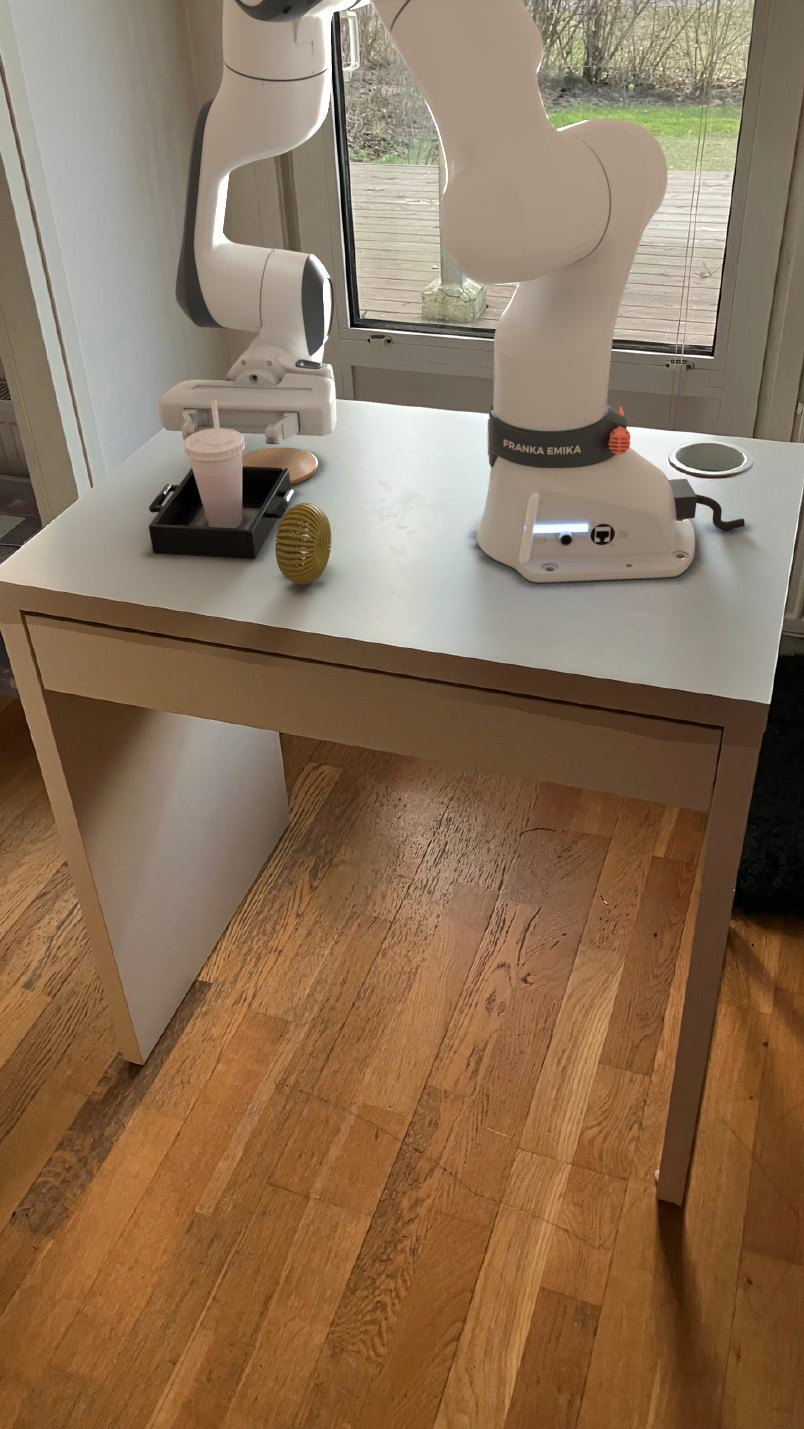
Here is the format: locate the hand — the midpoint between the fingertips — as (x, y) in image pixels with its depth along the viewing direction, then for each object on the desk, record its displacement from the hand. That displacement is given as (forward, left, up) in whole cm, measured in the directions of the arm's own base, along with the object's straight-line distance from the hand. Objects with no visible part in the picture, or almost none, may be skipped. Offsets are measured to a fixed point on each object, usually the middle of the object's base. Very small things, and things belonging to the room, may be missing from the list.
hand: (229, 436), depth 129 cm
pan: (0, +5, -8) cm, 9 cm away
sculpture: (-12, +16, -8) cm, 21 cm away
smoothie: (0, +5, -8) cm, 9 cm away
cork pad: (-2, -9, -8) cm, 12 cm away
